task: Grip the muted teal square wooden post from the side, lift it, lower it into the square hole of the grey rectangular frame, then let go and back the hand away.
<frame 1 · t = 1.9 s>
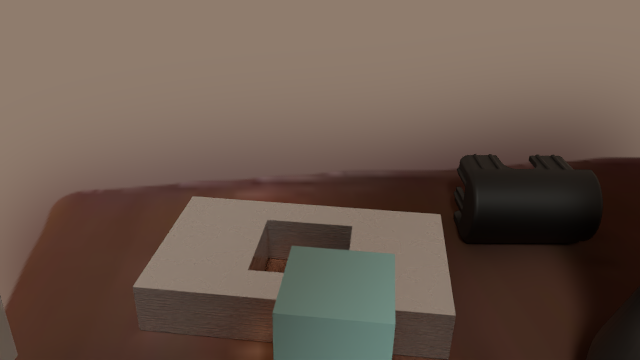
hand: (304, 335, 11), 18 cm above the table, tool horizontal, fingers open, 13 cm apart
grey rectangular frame: (303, 286, 41), on the table
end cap: (513, 240, 48), on the table
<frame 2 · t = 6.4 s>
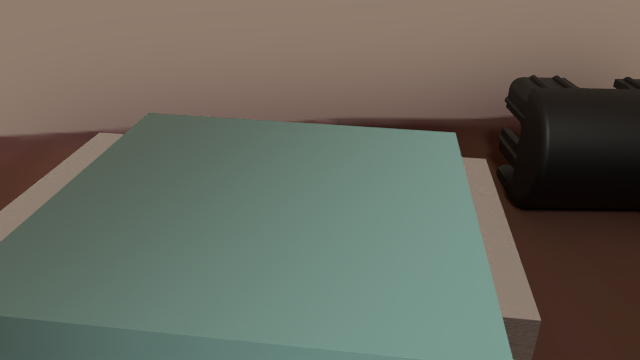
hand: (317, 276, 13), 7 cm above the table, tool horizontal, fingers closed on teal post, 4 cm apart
grey rectangular frame: (263, 270, 25), on the table
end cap: (591, 205, 32), on the table
when the fingers open (9 cm above the table, at t = 10.7 s): teal post drops 2 cm, resting in grey rectangular frame.
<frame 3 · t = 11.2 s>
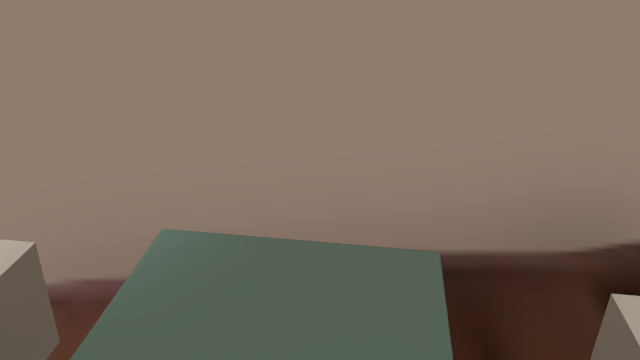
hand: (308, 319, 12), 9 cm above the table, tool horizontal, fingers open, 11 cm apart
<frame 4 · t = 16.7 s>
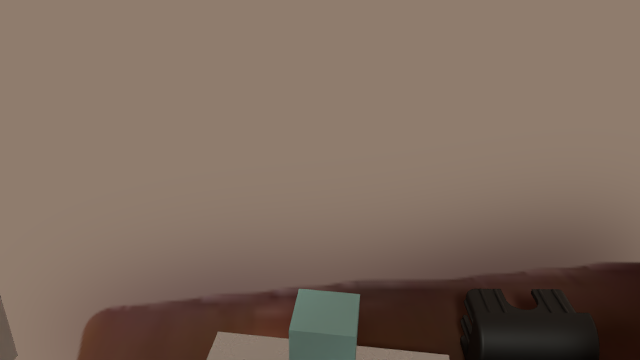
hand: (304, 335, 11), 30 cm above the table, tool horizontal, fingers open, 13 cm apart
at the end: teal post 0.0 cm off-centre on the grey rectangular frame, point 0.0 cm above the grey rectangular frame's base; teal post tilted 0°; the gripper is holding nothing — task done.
